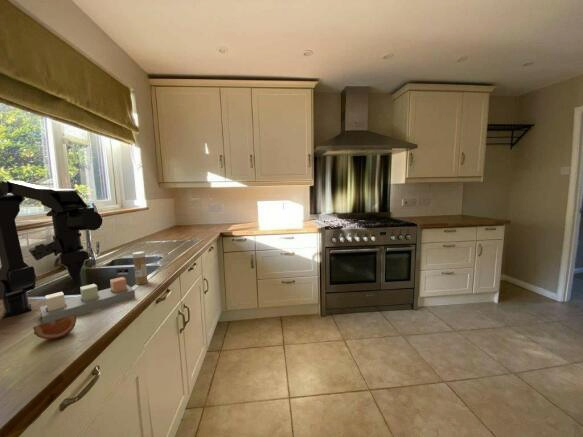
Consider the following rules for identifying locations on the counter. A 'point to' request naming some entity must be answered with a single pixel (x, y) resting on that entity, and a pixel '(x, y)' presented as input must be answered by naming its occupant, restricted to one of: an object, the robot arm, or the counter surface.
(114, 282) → the terracotta key
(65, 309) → the key panel
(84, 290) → the sage key
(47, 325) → the fruit slice
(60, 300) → the ivory key
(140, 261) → the sprinkles bottle
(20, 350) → the counter surface
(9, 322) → the counter surface
